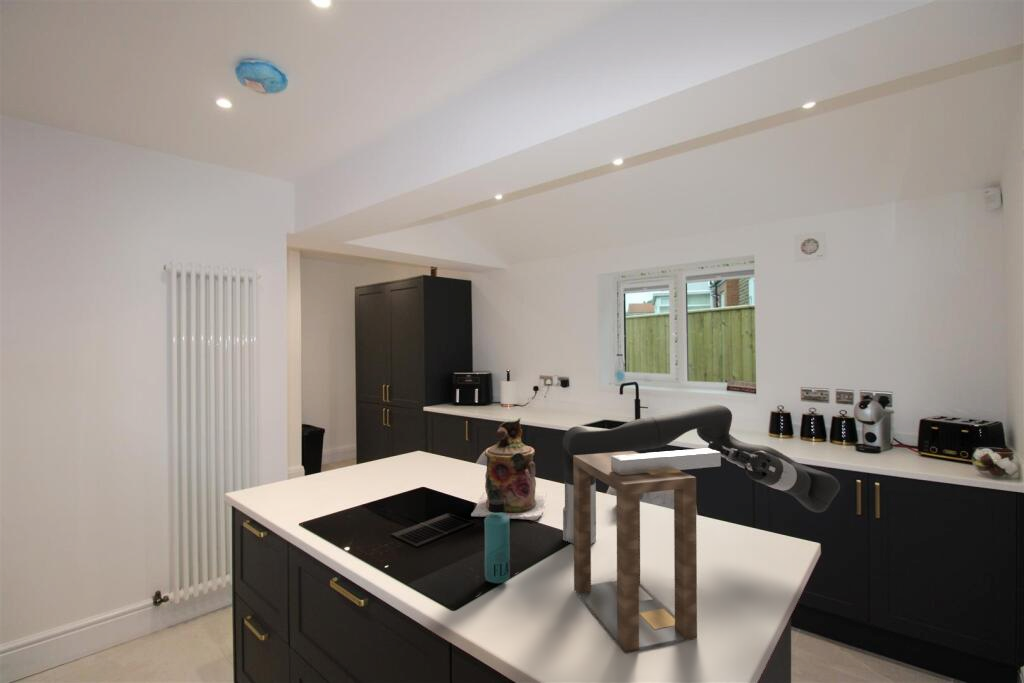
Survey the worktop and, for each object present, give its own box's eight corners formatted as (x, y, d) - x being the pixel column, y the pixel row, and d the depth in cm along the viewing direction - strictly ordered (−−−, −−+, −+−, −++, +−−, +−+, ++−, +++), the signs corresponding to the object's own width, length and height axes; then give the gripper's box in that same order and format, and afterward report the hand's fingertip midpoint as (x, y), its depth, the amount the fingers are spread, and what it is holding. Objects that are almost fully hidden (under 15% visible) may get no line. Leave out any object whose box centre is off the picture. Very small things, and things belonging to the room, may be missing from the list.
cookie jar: (483, 495, 183) (483, 412, 183) (547, 497, 179) (546, 413, 180) (469, 519, 158) (468, 423, 158) (542, 522, 155) (542, 425, 155)
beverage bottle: (491, 592, 112) (490, 507, 112) (479, 579, 117) (479, 499, 117) (515, 585, 115) (515, 503, 115) (503, 573, 120) (502, 495, 120)
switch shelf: (633, 580, 117) (633, 450, 117) (697, 638, 94) (696, 476, 94) (574, 589, 113) (573, 454, 113) (625, 653, 89) (624, 483, 90)
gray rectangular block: (708, 461, 105) (708, 448, 105) (720, 466, 102) (720, 452, 102) (611, 470, 99) (610, 455, 99) (620, 475, 95) (620, 460, 95)
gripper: (754, 450, 125) (706, 429, 121) (800, 464, 112) (748, 440, 108) (744, 477, 125) (696, 457, 120) (790, 494, 111) (737, 472, 107)
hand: (721, 449), depth 114 cm, fingers open, 8 cm apart
